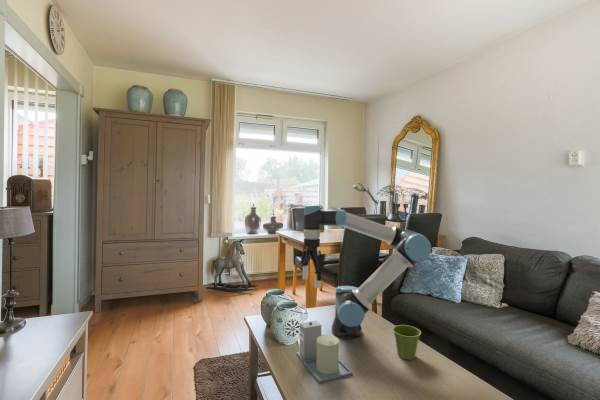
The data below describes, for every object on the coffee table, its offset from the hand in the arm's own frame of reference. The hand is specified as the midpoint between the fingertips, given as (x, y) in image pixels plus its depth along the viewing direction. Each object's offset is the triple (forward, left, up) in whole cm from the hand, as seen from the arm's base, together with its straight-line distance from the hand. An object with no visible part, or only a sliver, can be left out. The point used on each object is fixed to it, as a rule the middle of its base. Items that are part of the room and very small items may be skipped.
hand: (311, 283), depth 147 cm
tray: (+3, +22, -29) cm, 36 cm away
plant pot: (-34, +26, -29) cm, 52 cm away
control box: (+5, +10, -29) cm, 31 cm away
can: (+3, +22, -28) cm, 36 cm away
